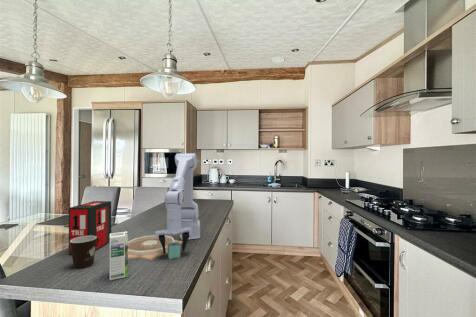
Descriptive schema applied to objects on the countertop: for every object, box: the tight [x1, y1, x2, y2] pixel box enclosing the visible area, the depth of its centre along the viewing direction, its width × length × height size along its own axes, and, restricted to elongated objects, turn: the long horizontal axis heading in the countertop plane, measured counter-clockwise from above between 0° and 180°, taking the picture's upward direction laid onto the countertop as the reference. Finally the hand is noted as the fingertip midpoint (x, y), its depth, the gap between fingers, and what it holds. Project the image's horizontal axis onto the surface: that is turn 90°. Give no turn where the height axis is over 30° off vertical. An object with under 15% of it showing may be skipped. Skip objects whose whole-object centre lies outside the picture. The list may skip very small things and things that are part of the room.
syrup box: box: [108, 230, 129, 281], centre depth 83 cm, size 6×6×14 cm
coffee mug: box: [70, 236, 99, 270], centre depth 93 cm, size 12×9×10 cm
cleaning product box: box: [68, 200, 112, 256], centre depth 110 cm, size 16×9×20 cm, turn 178°
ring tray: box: [128, 234, 182, 261], centre depth 110 cm, size 30×30×2 cm
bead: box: [167, 242, 181, 260], centre depth 100 cm, size 4×4×5 cm
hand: (173, 251), depth 100 cm, fingers open, 7 cm apart
